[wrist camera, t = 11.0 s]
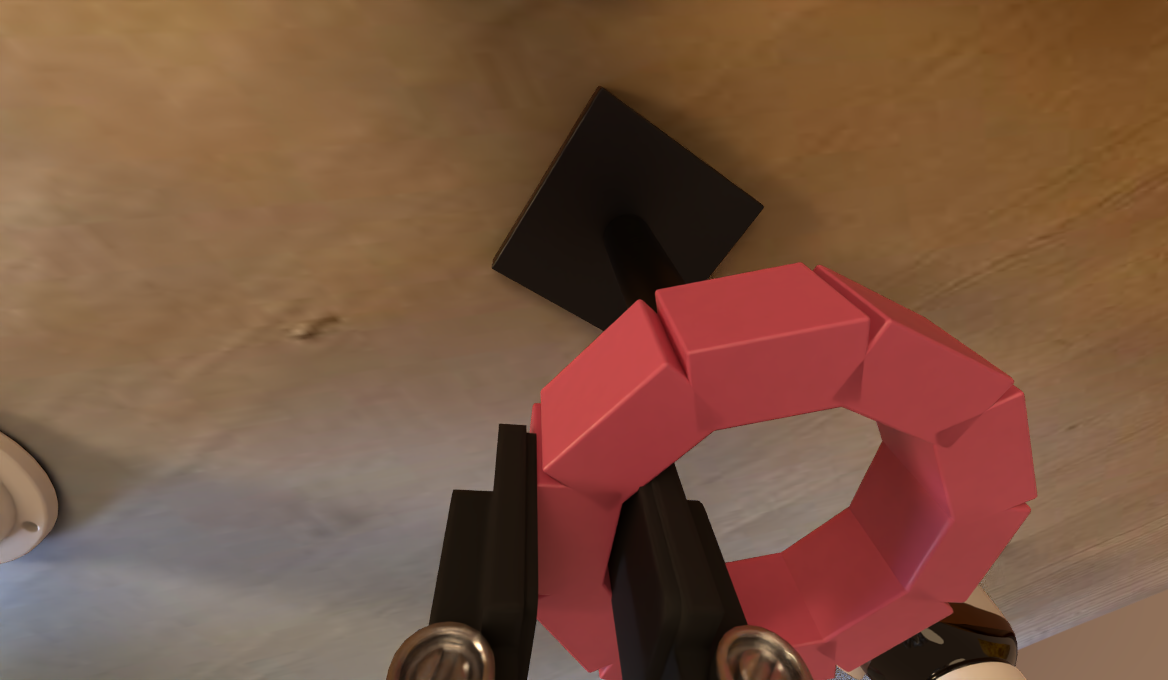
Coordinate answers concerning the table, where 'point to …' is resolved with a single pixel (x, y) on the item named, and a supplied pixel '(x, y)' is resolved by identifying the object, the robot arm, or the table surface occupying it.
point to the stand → (622, 217)
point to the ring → (771, 391)
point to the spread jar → (953, 648)
